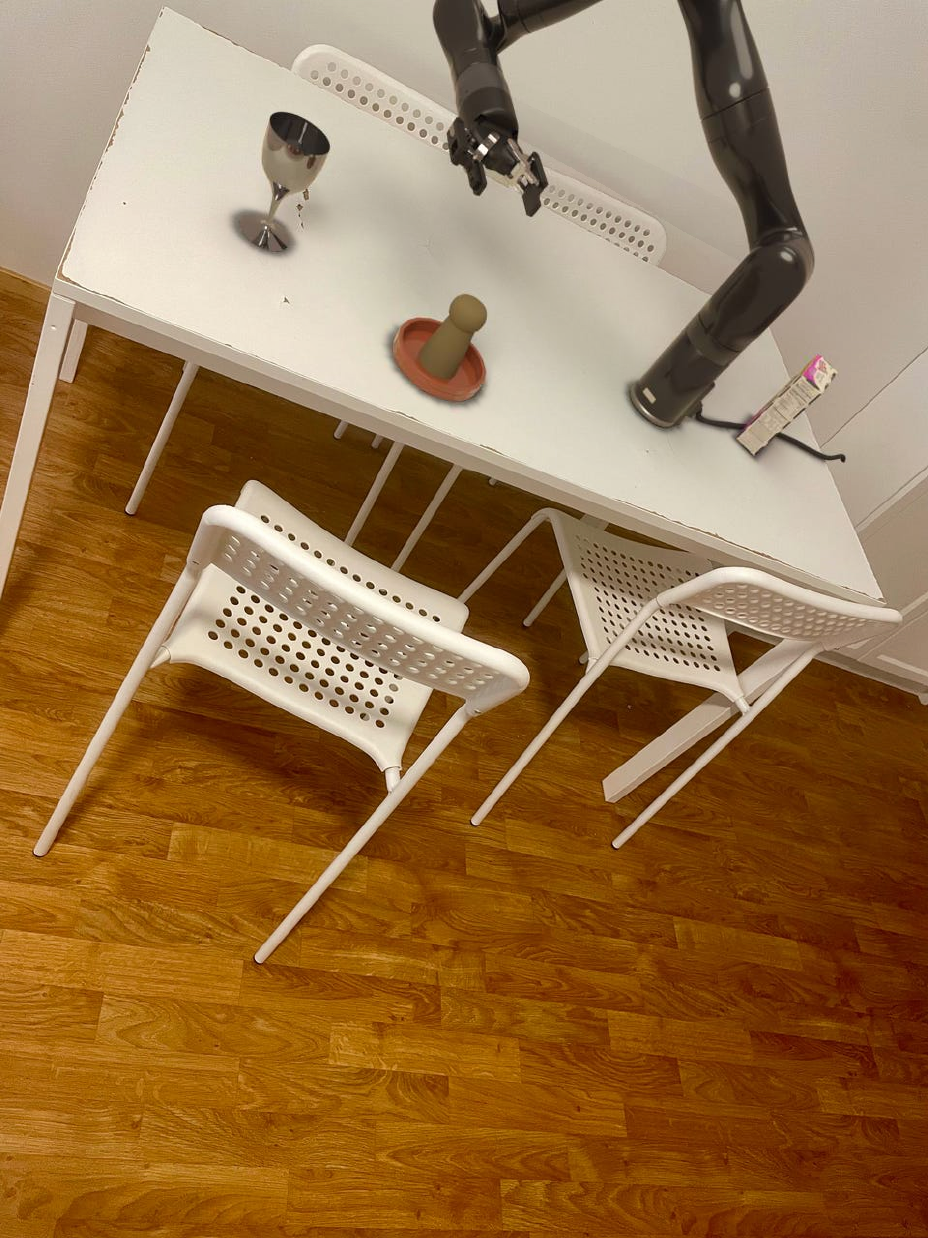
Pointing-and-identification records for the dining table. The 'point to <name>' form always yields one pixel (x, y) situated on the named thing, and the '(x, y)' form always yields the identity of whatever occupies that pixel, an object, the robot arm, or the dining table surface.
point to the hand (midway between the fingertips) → (508, 201)
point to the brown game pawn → (453, 337)
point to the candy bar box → (787, 404)
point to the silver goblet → (285, 172)
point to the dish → (407, 359)
